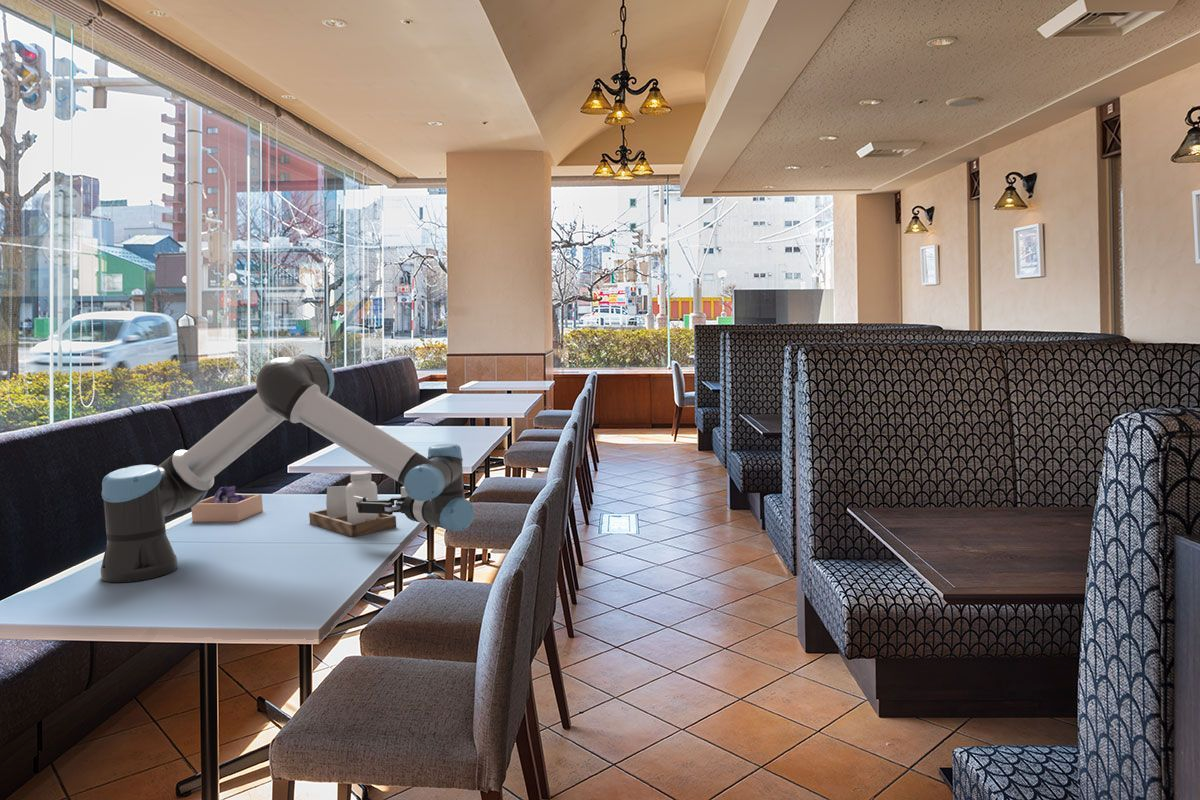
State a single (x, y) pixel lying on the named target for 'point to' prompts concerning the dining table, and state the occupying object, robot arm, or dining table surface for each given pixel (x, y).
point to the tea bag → (336, 501)
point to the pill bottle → (360, 495)
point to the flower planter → (227, 509)
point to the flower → (228, 495)
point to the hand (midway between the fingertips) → (378, 496)
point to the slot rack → (350, 529)
